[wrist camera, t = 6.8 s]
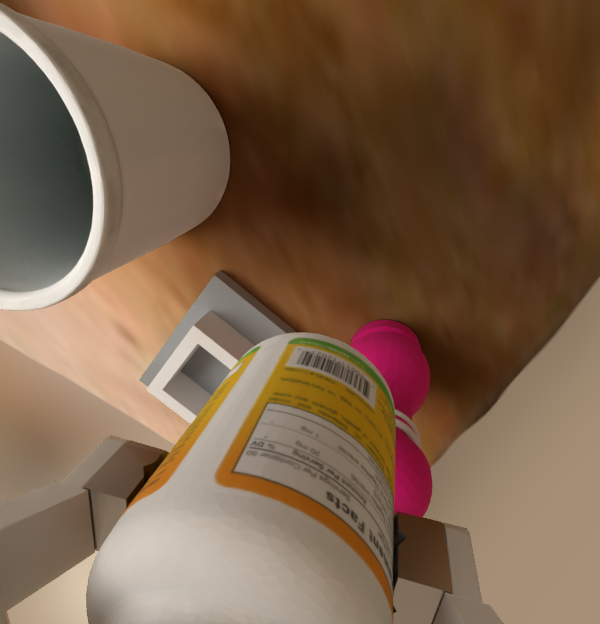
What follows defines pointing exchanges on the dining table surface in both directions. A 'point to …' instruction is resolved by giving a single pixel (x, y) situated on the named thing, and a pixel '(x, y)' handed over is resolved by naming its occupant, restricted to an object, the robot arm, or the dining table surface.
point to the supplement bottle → (265, 501)
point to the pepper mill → (402, 405)
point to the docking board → (209, 345)
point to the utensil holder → (95, 158)
